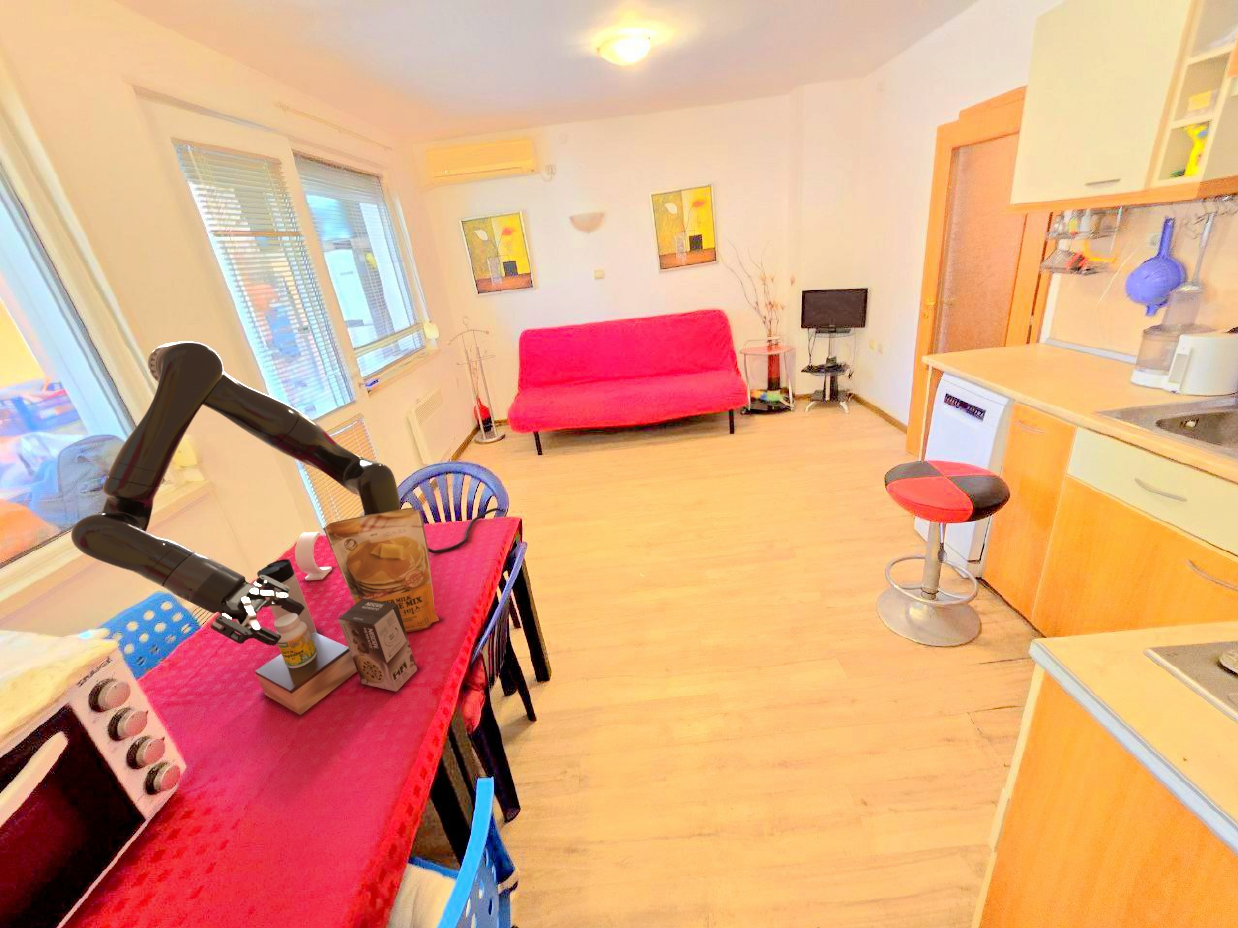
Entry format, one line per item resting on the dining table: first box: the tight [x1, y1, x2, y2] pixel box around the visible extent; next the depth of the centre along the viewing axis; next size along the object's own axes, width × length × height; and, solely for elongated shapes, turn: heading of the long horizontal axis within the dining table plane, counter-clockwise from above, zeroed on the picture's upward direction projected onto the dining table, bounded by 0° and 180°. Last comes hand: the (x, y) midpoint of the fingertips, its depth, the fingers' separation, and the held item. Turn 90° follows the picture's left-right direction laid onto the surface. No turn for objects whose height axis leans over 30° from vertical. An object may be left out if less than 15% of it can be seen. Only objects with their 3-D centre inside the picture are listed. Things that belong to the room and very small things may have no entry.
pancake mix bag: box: [322, 507, 440, 633], centre depth 110 cm, size 7×19×28 cm, turn 102°
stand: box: [254, 632, 358, 716], centre depth 100 cm, size 12×12×6 cm
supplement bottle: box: [273, 613, 317, 668], centre depth 97 cm, size 5×5×10 cm
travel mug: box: [256, 558, 318, 635], centre depth 110 cm, size 6×7×20 cm
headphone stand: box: [294, 531, 333, 581], centre depth 137 cm, size 5×6×12 cm
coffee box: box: [337, 599, 418, 693], centre depth 98 cm, size 9×6×16 cm
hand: (290, 625), depth 96 cm, fingers open, 8 cm apart
